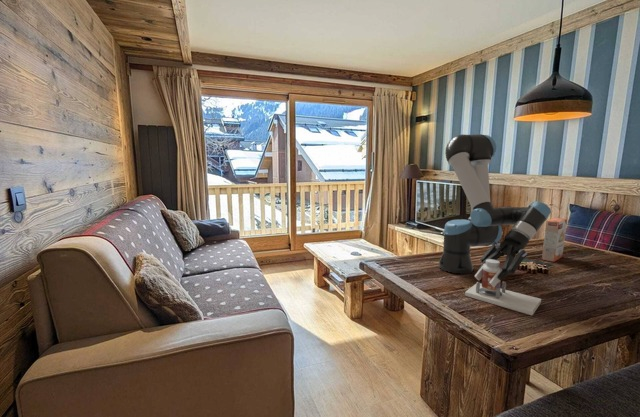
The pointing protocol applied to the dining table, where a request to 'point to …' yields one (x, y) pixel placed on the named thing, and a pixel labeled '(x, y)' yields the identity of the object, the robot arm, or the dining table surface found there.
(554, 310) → the dining table surface
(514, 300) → the pin tray
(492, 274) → the pill bottle
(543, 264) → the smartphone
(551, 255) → the cracker box
